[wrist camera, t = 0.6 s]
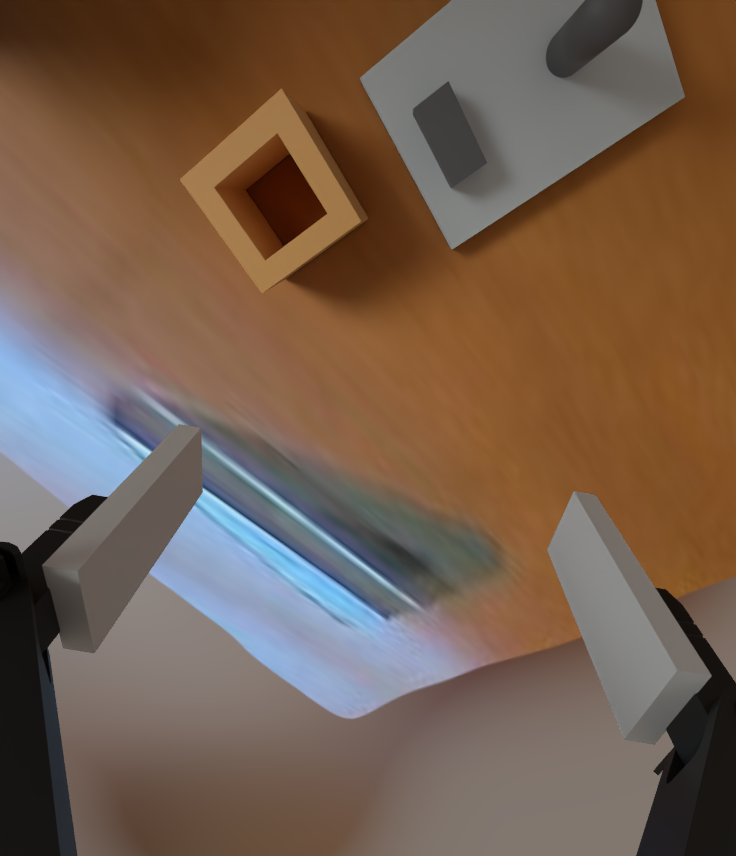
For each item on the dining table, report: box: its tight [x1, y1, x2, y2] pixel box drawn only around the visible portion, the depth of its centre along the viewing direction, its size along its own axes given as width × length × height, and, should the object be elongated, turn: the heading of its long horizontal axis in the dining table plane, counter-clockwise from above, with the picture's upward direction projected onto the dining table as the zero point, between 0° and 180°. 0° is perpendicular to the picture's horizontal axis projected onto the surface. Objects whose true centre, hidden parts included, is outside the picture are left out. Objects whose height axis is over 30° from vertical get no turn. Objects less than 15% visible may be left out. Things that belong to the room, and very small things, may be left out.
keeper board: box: [360, 0, 685, 249], centre depth 25 cm, size 12×16×8 cm
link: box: [180, 88, 369, 293], centre depth 30 cm, size 8×8×6 cm
